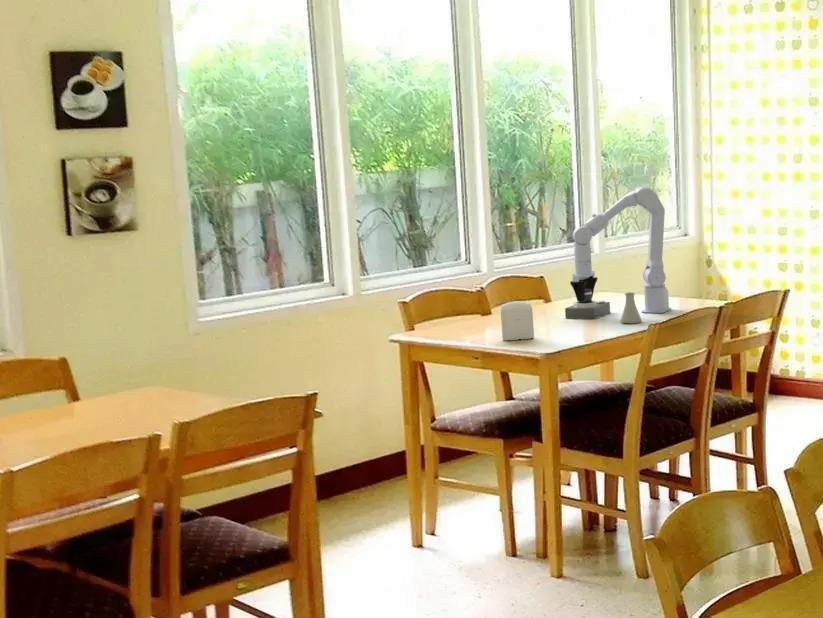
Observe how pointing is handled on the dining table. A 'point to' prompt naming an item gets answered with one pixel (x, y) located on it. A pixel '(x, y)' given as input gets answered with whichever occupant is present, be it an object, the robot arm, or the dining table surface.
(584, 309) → the camera body
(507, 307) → the white rounded slab
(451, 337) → the dining table surface
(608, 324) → the dining table surface
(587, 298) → the lens
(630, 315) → the flask
